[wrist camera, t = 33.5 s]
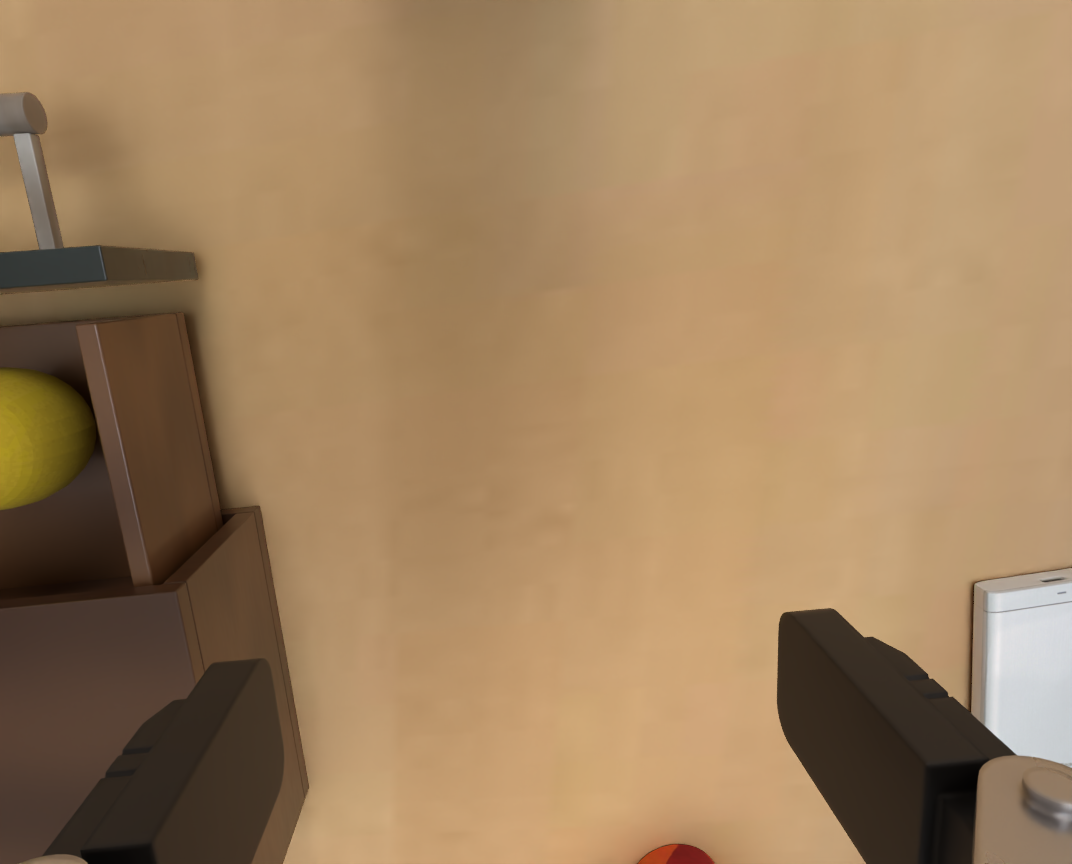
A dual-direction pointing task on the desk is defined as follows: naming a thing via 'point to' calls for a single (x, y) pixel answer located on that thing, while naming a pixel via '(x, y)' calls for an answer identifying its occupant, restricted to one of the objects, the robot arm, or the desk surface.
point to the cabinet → (132, 680)
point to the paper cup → (677, 855)
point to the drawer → (105, 410)
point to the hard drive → (1025, 662)
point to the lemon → (40, 436)
